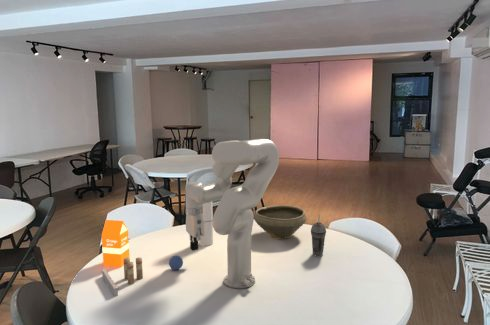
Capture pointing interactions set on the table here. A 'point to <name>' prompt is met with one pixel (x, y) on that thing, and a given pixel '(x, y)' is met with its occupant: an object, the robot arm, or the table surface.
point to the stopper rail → (110, 282)
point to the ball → (175, 262)
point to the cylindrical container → (207, 225)
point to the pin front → (139, 268)
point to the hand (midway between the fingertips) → (194, 249)
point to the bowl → (280, 220)
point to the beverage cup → (318, 238)
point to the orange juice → (115, 243)
